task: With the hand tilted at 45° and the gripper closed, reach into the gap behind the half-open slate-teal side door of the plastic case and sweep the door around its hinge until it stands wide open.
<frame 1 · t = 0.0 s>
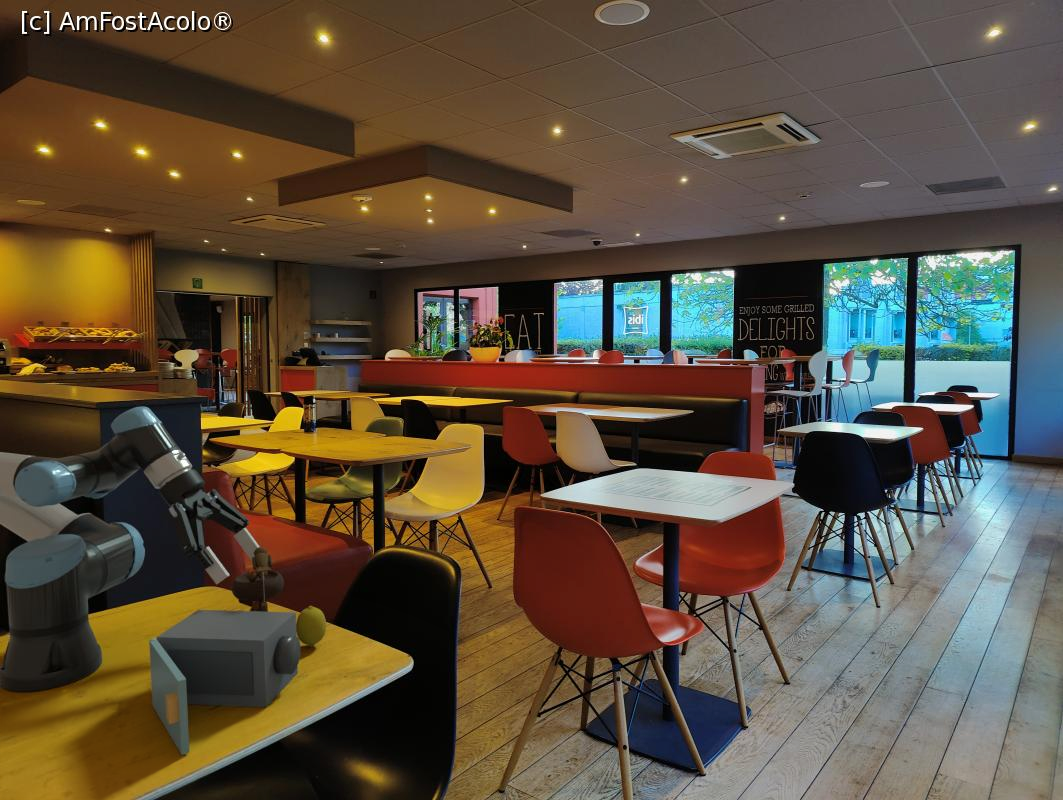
hand: (241, 568, 136), 15 cm above the table, tool tilted 35°, fingers open, 13 cm apart
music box: (259, 648, 136), on the table
case: (231, 687, 120), on the table
side door: (163, 693, 106), point 6 cm above the table, hinge at 45.0°
lemon: (311, 647, 136), on the table
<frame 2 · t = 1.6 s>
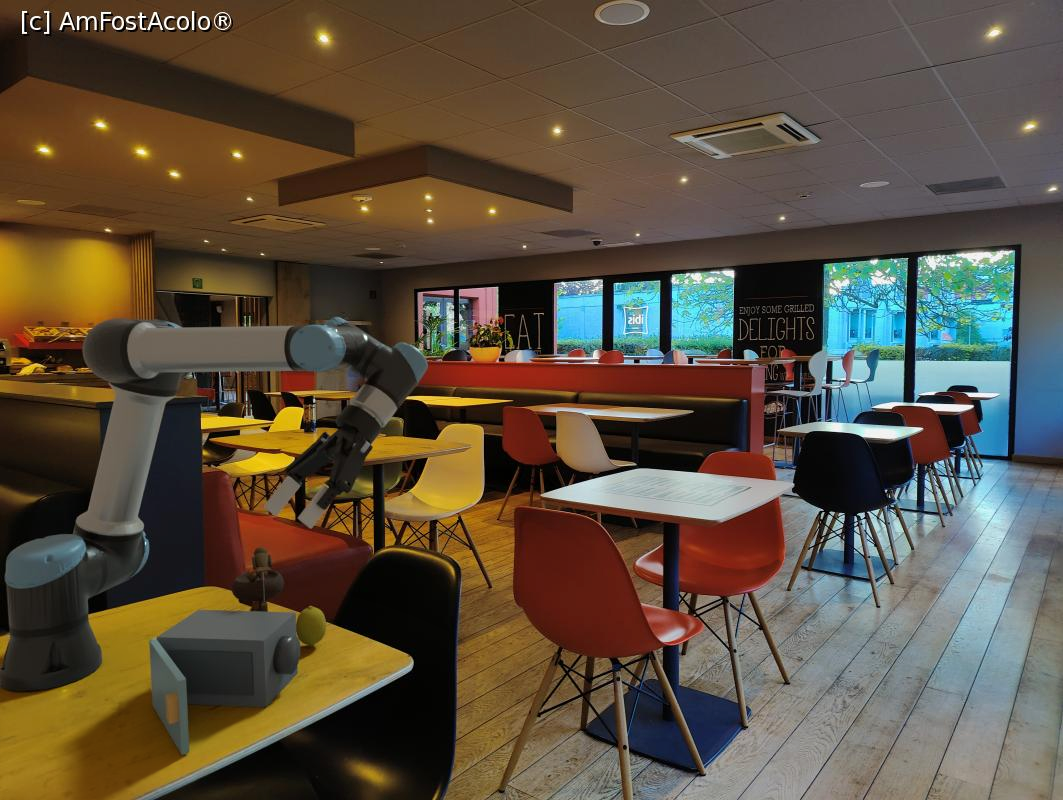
hand: (286, 517, 116), 30 cm above the table, tool tilted 45°, fingers open, 12 cm apart
nothing on the table moved.
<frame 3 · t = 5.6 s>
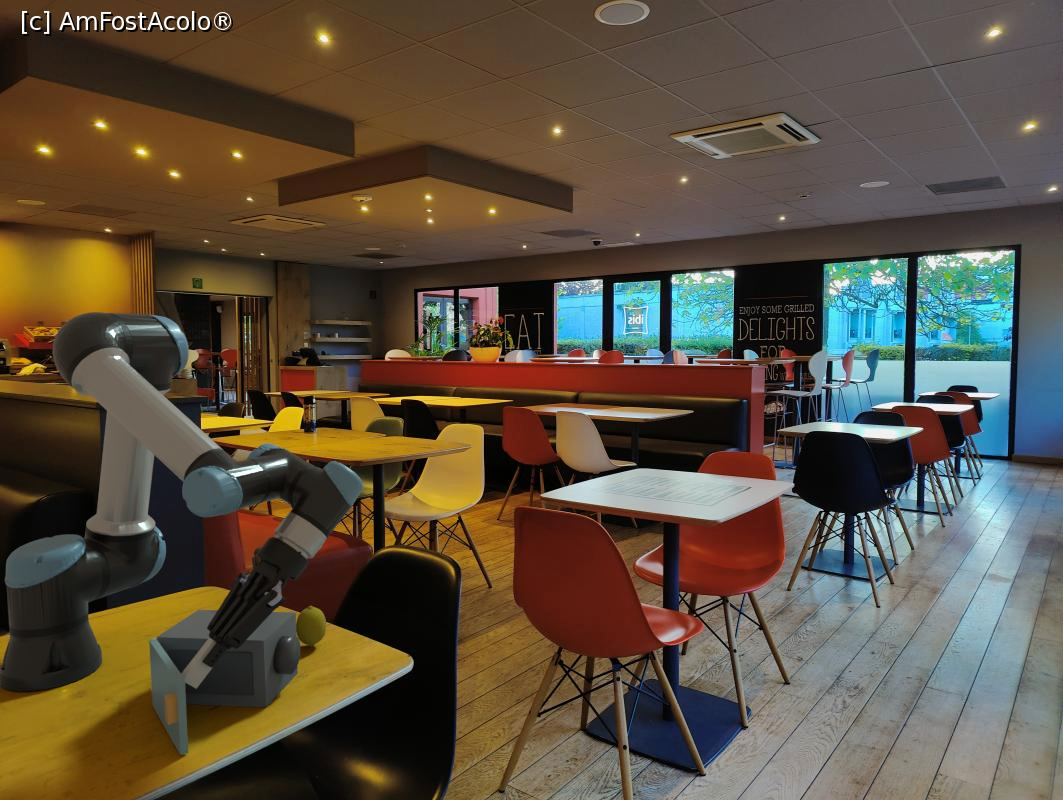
hand: (187, 682, 104), 8 cm above the table, tool tilted 45°, fingers closed
side door: (162, 693, 106), point 6 cm above the table, hinge at 45.5°, touching gripper
everything else where it was.
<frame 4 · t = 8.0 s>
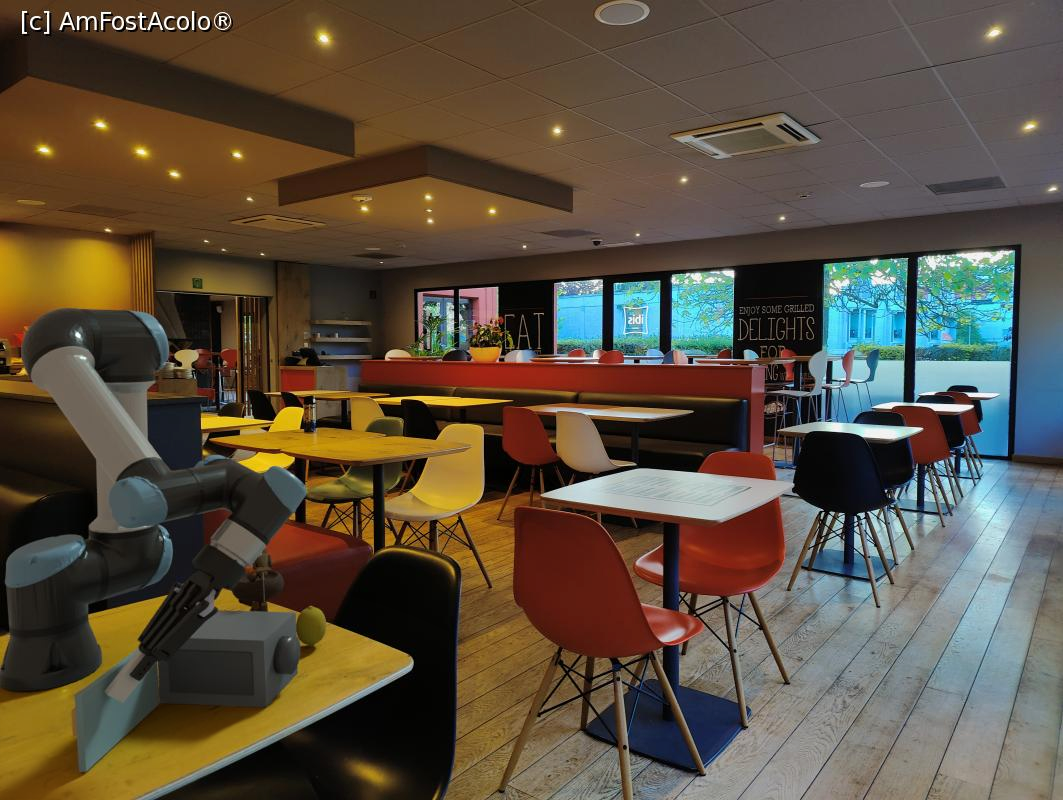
hand: (113, 697, 100), 8 cm above the table, tool tilted 45°, fingers closed
side door: (117, 699, 105), point 6 cm above the table, hinge at 85.6°, touching gripper
everything else where it was.
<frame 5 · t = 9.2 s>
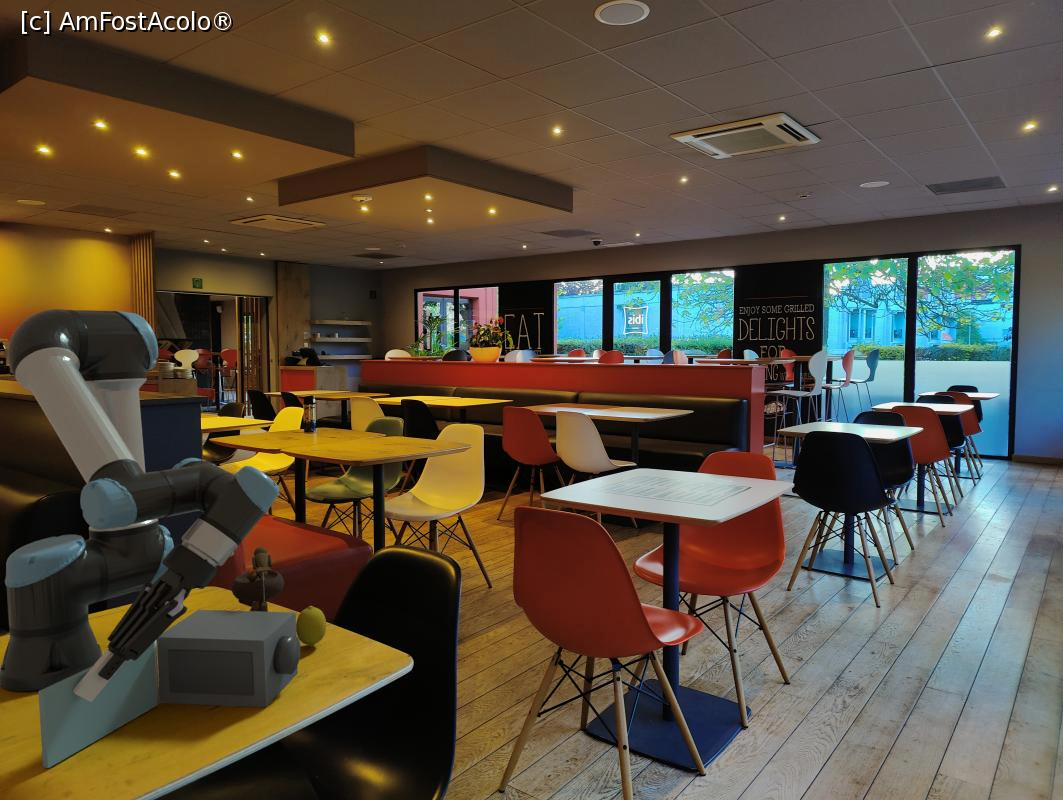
hand: (82, 696, 100), 8 cm above the table, tool tilted 45°, fingers closed
side door: (101, 697, 105), point 6 cm above the table, hinge at 103.9°, touching gripper
everything else where it was.
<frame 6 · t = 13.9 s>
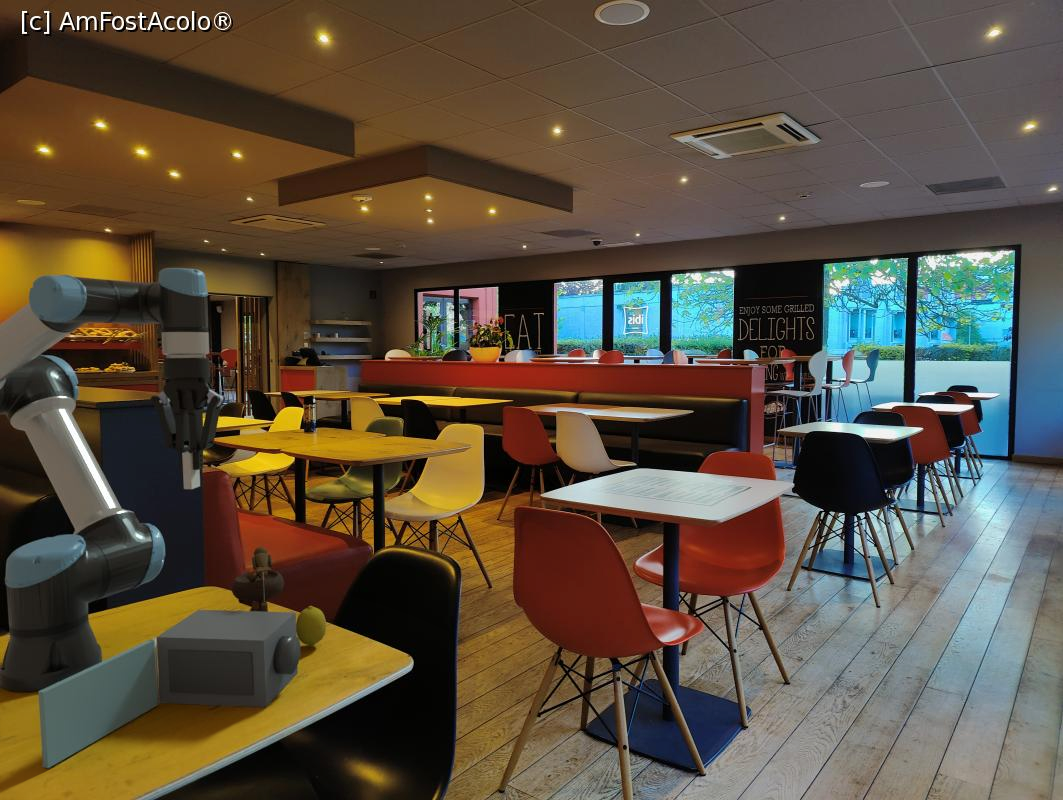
hand: (192, 487, 128), 32 cm above the table, tool pointing down, fingers closed
side door: (101, 697, 105), point 6 cm above the table, hinge at 103.9°
everything else where it was.
at the end: side door at +104° (first picture: +45°) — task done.
